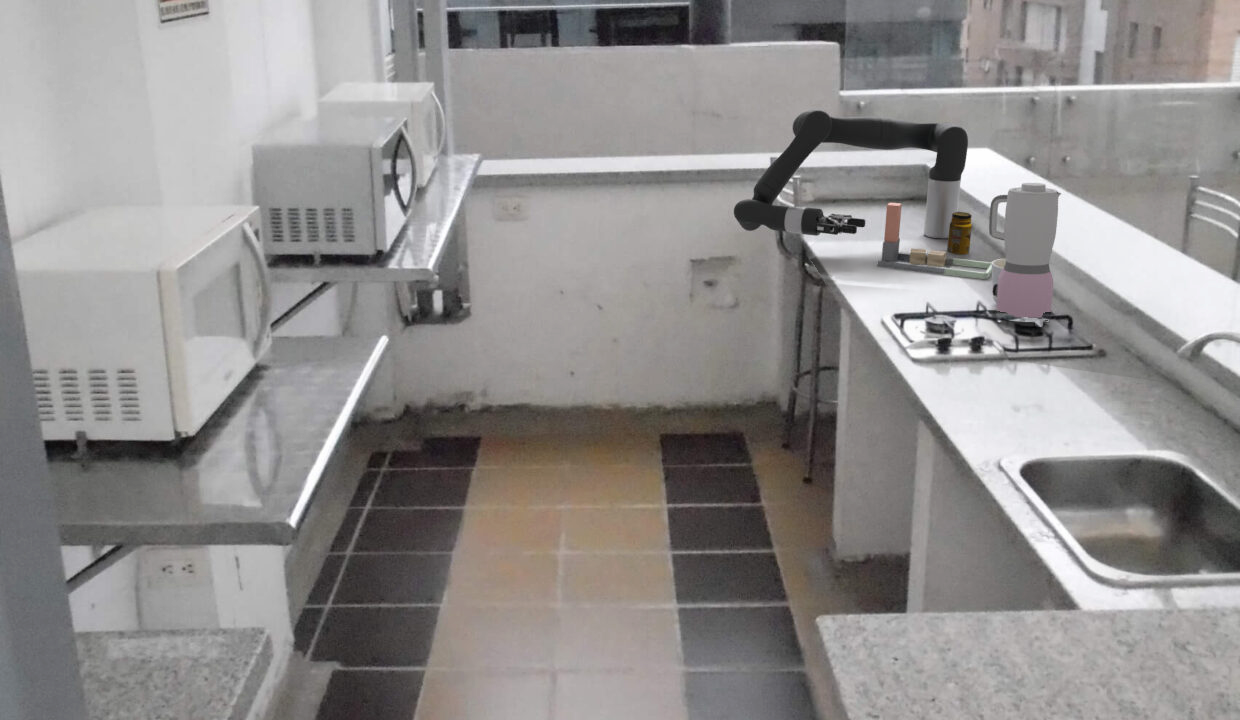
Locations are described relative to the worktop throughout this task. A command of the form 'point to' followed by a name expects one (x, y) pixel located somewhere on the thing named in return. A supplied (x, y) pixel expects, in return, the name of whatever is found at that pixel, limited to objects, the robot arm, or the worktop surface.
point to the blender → (1026, 249)
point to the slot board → (904, 264)
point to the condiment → (959, 233)
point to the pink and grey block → (892, 232)
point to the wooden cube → (918, 256)
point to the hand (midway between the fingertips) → (860, 226)
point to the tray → (970, 273)
